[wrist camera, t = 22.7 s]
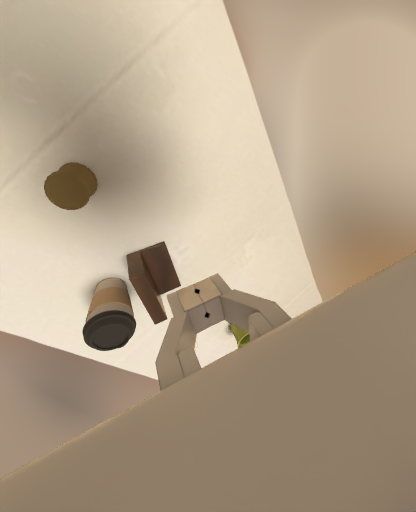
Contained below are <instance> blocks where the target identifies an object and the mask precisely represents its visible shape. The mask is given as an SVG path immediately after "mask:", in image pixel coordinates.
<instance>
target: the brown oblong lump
mask: <svg viewBox="0 0 416 512" xmlns="http://www.w3.org/2000/svg"><path fill="white" fill-rule="evenodd" d="M97 185H98V184H97V179H96V177H95V175H94V173H93V172H92V171H91V170H90V169H89V168H87V167H86V166H84V165H82V164H79V163H68V164H65V165H63V166H62V167H61V168H60V169H59V171H58V172H54V173H52V174H51V175H49V176H48V177H47V179H46V180H45V185H44V189H45V193H46V195H47V197H48V198H49V200H50V201H51V202H52V203H53V204H55V205H56V206H58V207H60V208H63V209H67V210H76V209H79V208H82V207H83V206H85V205H86V204H87V202H88V201H89V197H90V196H92V195H93V194H94V193H95V192H96V190H97Z"/></svg>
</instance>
